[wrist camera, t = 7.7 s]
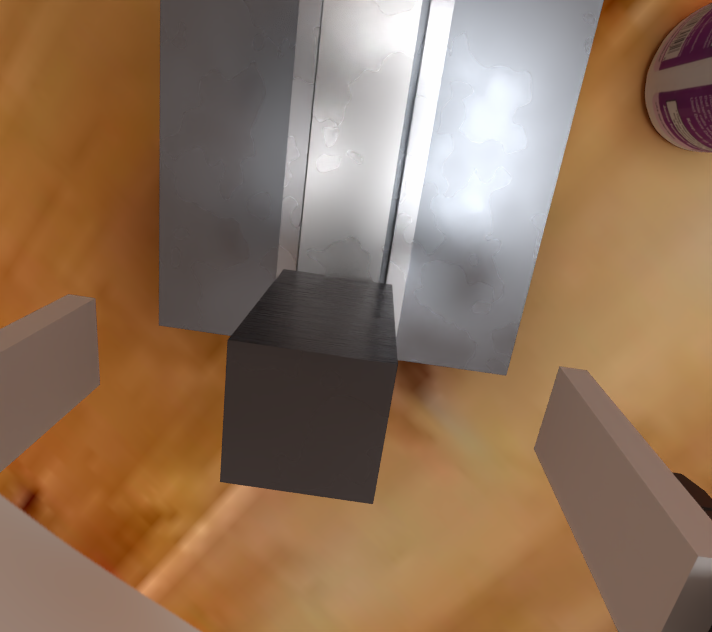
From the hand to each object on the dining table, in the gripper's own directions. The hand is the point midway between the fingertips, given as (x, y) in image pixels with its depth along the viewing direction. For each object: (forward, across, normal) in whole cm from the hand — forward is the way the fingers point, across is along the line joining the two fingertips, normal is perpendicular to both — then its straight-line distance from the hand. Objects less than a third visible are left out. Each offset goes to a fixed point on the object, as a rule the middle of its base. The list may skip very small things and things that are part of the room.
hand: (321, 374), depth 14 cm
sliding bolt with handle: (+8, 0, +5) cm, 10 cm away
